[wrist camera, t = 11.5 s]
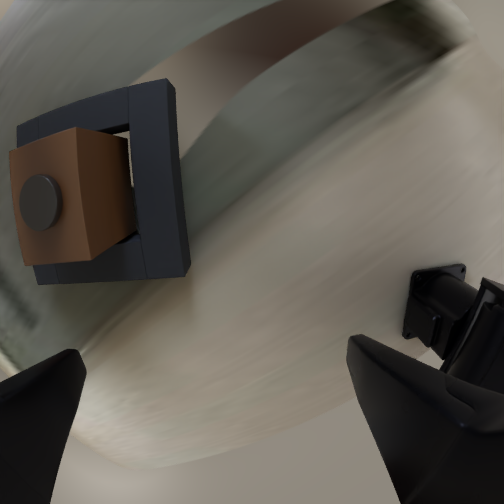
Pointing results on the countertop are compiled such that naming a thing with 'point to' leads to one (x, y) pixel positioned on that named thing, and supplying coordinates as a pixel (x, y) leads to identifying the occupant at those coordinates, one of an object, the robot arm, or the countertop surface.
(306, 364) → the countertop surface
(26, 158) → the walnut block
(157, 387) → the countertop surface
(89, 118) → the dark square frame
